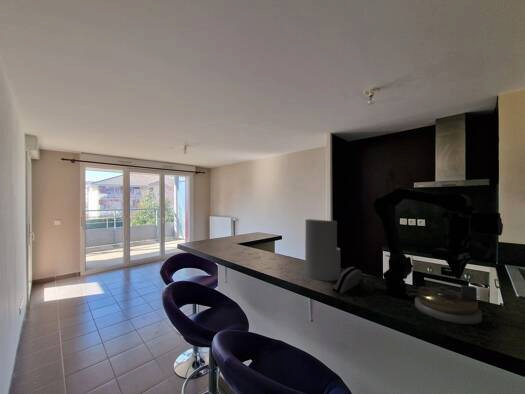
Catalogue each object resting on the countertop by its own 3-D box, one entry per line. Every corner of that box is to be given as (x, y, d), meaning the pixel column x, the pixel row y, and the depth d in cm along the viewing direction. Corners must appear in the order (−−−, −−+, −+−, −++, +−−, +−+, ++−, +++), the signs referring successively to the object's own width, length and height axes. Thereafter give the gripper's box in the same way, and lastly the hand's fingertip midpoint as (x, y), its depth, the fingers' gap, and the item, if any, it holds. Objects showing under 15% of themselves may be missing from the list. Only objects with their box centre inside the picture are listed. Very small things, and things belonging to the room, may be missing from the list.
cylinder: (325, 283, 109) (325, 221, 110) (298, 273, 123) (298, 219, 124) (347, 276, 119) (347, 220, 120) (320, 268, 133) (320, 218, 134)
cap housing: (417, 296, 94) (417, 291, 94) (479, 309, 82) (479, 303, 83) (411, 312, 80) (411, 306, 80) (485, 330, 68) (485, 323, 68)
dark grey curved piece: (347, 281, 112) (354, 262, 110) (357, 287, 109) (364, 267, 107) (330, 290, 100) (338, 269, 98) (340, 297, 96) (348, 275, 94)
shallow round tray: (419, 307, 78) (419, 285, 78) (416, 292, 92) (416, 274, 92) (484, 319, 70) (483, 295, 70) (470, 301, 84) (470, 281, 84)
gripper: (470, 236, 69) (470, 290, 68) (505, 234, 76) (505, 283, 75) (430, 231, 79) (430, 278, 78) (464, 229, 86) (464, 273, 86)
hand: (458, 278), depth 79 cm, fingers closed
